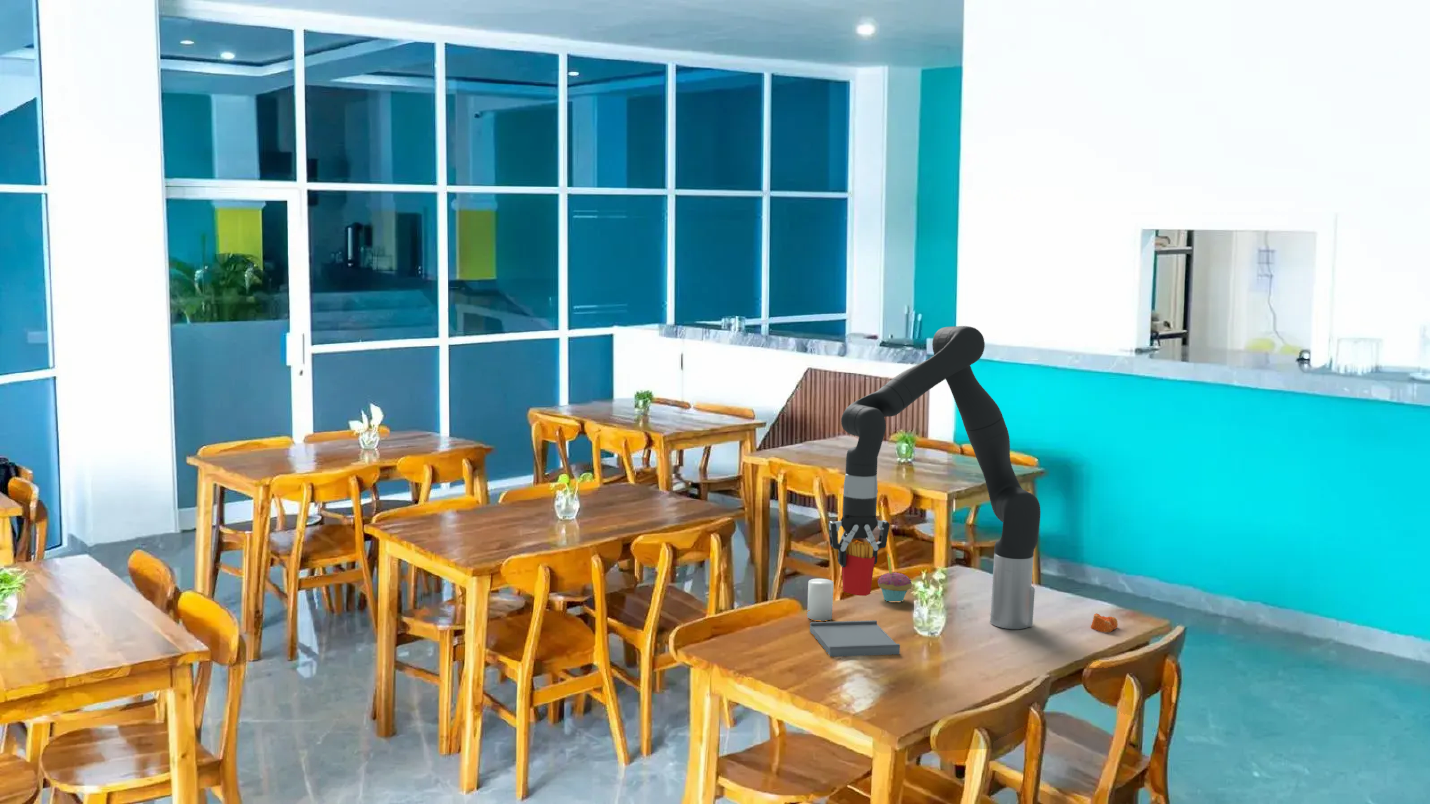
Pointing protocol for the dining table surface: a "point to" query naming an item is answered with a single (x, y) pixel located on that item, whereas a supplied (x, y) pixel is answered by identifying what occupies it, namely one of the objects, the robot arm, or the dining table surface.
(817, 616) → the white rounded cylinder
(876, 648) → the slate board
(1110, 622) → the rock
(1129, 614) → the dining table surface
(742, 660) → the dining table surface
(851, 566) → the french fries
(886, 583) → the cupcake
